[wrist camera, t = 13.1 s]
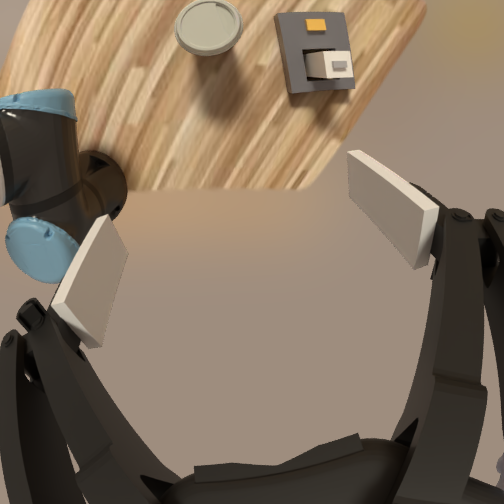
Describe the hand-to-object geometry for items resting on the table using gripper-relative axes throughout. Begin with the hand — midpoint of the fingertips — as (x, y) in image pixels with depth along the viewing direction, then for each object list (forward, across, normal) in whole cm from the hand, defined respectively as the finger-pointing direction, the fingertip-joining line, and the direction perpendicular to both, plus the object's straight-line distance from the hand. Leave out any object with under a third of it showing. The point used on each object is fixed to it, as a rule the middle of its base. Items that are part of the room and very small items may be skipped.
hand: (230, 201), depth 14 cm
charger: (+34, +18, +5) cm, 39 cm away
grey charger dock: (+34, +18, +8) cm, 39 cm away
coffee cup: (+35, +2, +13) cm, 37 cm away
